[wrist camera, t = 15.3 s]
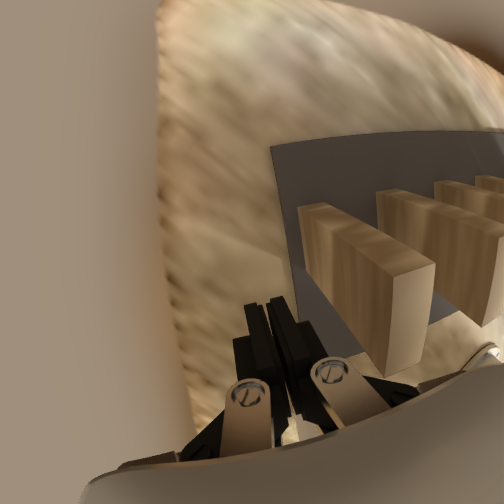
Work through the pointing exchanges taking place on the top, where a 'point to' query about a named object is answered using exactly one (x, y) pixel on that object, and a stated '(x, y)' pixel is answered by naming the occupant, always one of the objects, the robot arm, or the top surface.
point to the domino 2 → (471, 199)
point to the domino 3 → (450, 249)
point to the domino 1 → (370, 284)
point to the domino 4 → (490, 183)
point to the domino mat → (370, 197)
